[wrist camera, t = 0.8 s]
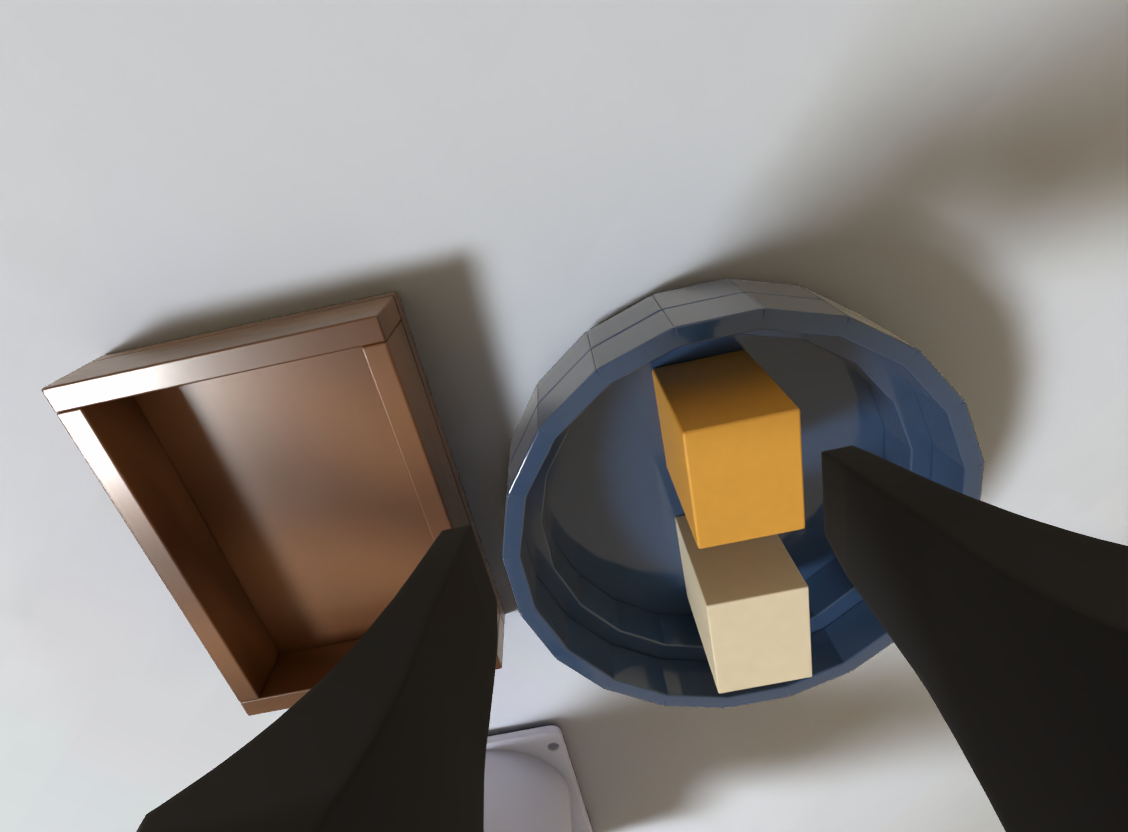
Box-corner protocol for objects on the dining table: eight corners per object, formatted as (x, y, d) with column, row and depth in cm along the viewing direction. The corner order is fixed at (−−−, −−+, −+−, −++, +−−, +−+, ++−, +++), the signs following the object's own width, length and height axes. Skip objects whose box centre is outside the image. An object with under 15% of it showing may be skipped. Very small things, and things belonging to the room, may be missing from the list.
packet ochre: (753, 450, 22) (806, 529, 18) (666, 467, 23) (698, 550, 18) (745, 348, 21) (801, 408, 16) (650, 368, 21) (682, 433, 16)
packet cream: (764, 580, 25) (813, 677, 21) (686, 595, 25) (718, 694, 21) (758, 500, 23) (809, 586, 19) (674, 516, 23) (706, 606, 19)
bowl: (904, 591, 26) (963, 666, 23) (555, 656, 27) (559, 739, 23) (920, 231, 20) (1007, 256, 16) (459, 331, 20) (443, 376, 17)
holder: (505, 615, 26) (502, 668, 23) (275, 659, 26) (248, 716, 24) (397, 290, 20) (377, 315, 17) (101, 355, 20) (39, 389, 18)
